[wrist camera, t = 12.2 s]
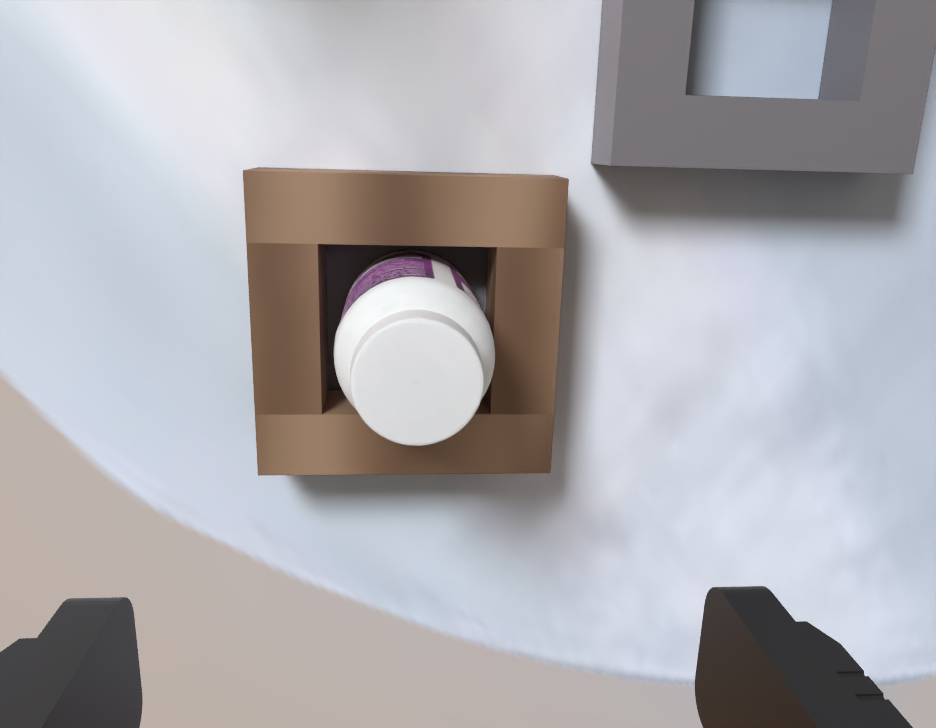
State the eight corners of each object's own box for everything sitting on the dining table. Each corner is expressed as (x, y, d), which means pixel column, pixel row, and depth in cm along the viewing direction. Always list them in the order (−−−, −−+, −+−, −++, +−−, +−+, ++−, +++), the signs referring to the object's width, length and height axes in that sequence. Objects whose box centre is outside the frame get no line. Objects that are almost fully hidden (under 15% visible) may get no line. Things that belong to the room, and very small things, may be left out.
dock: (553, 175, 31) (568, 179, 28) (537, 445, 34) (550, 473, 31) (258, 167, 30) (243, 170, 27) (270, 446, 33) (258, 475, 30)
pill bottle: (330, 354, 32) (301, 441, 23) (366, 231, 31) (351, 271, 22) (454, 390, 33) (474, 487, 24) (494, 271, 32) (531, 326, 23)
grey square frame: (919, -150, 29) (977, -182, 26) (866, 170, 32) (912, 174, 29) (614, -170, 28) (639, -206, 25) (591, 163, 31) (610, 165, 28)
